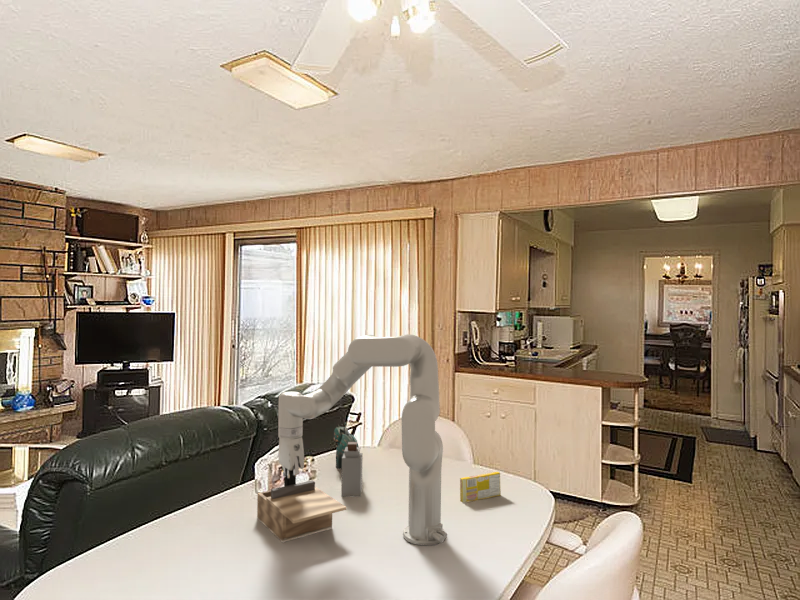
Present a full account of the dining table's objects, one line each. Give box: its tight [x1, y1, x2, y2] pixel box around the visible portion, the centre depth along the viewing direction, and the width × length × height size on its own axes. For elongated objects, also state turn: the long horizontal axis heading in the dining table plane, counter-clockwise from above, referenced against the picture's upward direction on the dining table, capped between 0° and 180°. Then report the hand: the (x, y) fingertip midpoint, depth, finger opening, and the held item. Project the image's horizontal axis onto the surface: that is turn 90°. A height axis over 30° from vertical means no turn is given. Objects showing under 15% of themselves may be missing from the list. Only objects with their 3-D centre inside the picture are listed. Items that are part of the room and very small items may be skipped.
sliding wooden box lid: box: [266, 480, 347, 523], centre depth 155 cm, size 20×17×3 cm
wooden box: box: [256, 489, 333, 543], centre depth 162 cm, size 20×16×8 cm
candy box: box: [459, 471, 502, 504], centre depth 184 cm, size 16×2×8 cm, turn 116°
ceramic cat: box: [333, 421, 361, 470], centre depth 210 cm, size 20×6×20 cm, turn 27°
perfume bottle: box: [340, 441, 363, 497], centre depth 188 cm, size 7×7×18 cm
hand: (289, 489), depth 164 cm, fingers closed
